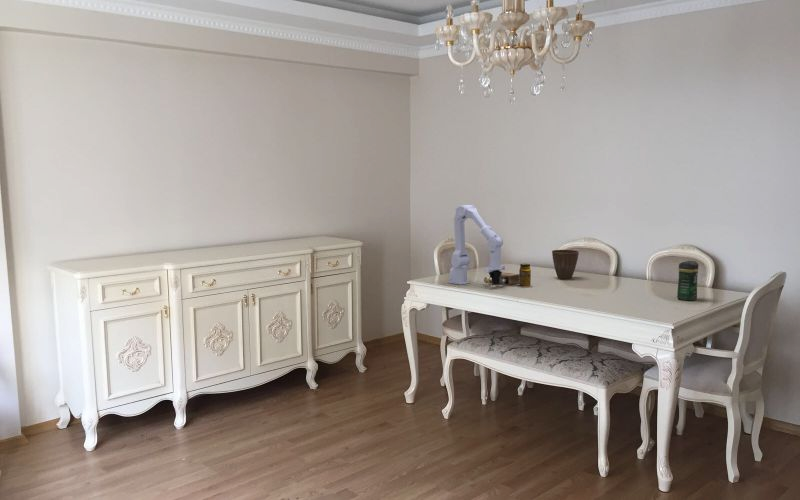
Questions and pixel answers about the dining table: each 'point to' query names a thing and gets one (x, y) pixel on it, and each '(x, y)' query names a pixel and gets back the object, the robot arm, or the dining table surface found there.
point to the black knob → (502, 281)
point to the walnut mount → (509, 279)
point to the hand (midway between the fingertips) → (495, 284)
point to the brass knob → (487, 279)
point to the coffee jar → (687, 280)
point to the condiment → (524, 276)
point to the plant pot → (565, 263)
